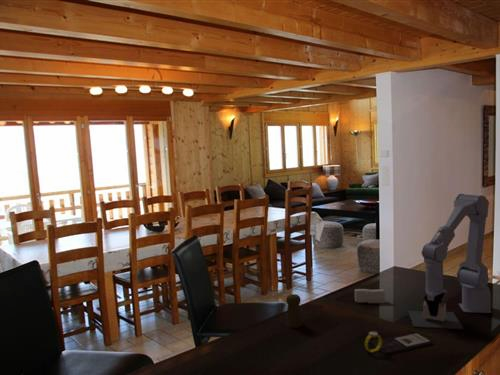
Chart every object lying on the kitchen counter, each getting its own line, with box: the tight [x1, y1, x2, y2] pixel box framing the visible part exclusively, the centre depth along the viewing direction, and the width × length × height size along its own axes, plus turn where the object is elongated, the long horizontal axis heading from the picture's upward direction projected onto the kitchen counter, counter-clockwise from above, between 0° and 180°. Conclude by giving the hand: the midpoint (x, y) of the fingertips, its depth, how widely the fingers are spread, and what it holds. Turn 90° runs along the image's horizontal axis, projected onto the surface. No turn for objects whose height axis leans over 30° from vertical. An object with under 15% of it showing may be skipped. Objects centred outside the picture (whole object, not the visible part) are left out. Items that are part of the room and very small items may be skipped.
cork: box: [285, 293, 304, 329], centre depth 160 cm, size 6×6×11 cm
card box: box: [422, 300, 447, 321], centre depth 156 cm, size 4×7×5 cm, turn 57°
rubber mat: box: [407, 310, 464, 330], centre depth 157 cm, size 16×14×1 cm
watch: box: [364, 331, 383, 354], centre depth 137 cm, size 6×3×6 cm, turn 114°
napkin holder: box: [354, 288, 386, 304], centre depth 179 cm, size 15×11×6 cm
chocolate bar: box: [368, 331, 434, 356], centre depth 141 cm, size 9×1×18 cm
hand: (434, 313), depth 156 cm, fingers closed on card box, 4 cm apart
